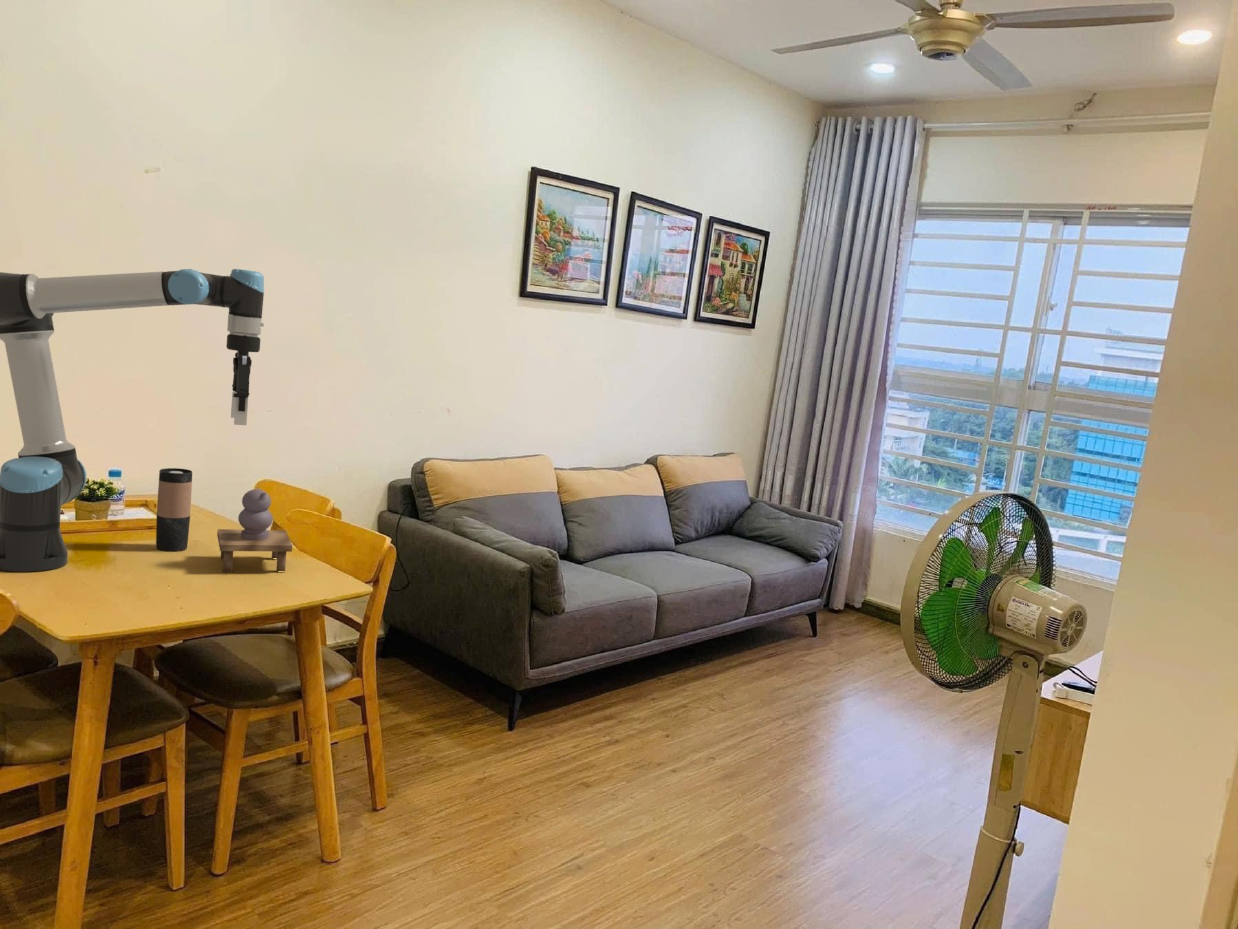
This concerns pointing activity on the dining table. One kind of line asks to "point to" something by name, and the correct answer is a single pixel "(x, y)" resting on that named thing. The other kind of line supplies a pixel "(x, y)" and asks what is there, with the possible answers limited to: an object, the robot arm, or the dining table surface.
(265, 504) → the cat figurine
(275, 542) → the footstool
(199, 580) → the dining table surface
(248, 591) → the dining table surface
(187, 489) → the travel mug
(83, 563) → the dining table surface
